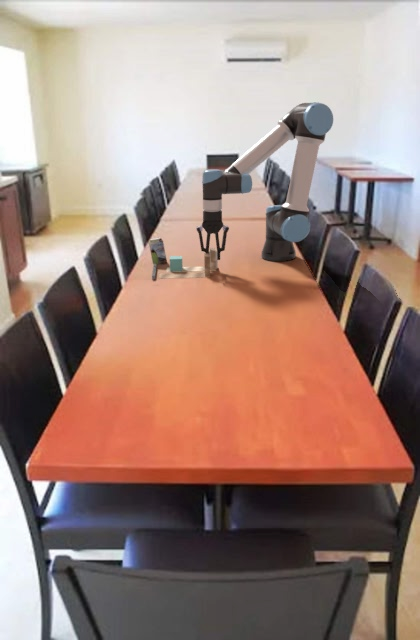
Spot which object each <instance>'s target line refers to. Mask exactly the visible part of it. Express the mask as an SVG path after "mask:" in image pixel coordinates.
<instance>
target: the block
mask: <svg viewBox="0 0 420 640" xmlns="http://www.w3.org/2000/svg"><path fill="white" fill-rule="evenodd" d="M169 267H170V271H183V267H184V266H183V255H169Z"/></svg>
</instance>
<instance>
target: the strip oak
mask: <svg viewBox="0 0 420 640" xmlns="http://www.w3.org/2000/svg"><path fill="white" fill-rule="evenodd" d="M203 256H204V261H203V262H204V263H203V264H204V266H205V271H197V272H166V273H158V275H159V276H158V279H159V280H160V279H162V280H163V279H164V280H165V279H166V280H167V279H189V278H190V279H193V278H195V279H196V278H199V279H200V278H211V271H210V254H209V253H205V252H204V253H203Z"/></svg>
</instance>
